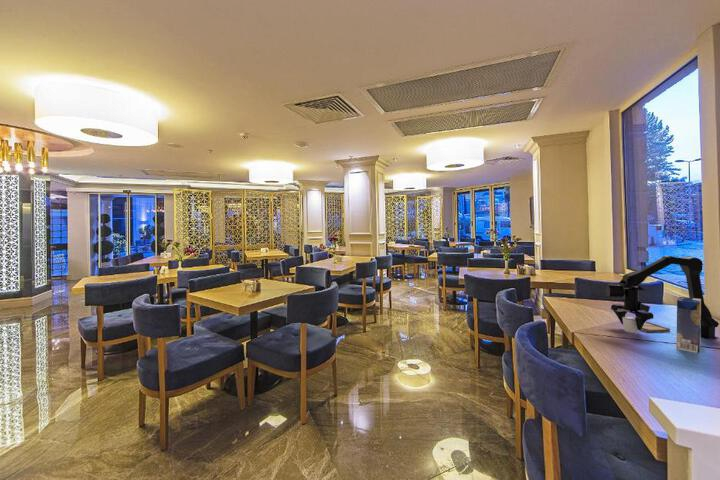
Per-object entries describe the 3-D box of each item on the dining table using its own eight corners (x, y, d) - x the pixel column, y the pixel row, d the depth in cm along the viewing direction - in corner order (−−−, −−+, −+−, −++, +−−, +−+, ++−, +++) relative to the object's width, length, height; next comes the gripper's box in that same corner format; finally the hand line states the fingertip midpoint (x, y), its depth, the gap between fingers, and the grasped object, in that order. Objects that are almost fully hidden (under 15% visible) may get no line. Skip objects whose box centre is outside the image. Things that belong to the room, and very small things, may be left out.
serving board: (669, 331, 157) (669, 328, 157) (647, 332, 157) (647, 329, 157) (647, 324, 169) (647, 321, 169) (626, 325, 169) (626, 322, 169)
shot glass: (643, 333, 156) (643, 320, 156) (627, 333, 157) (627, 319, 157) (633, 329, 162) (634, 316, 162) (619, 328, 164) (619, 315, 164)
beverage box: (700, 346, 138) (701, 298, 137) (699, 353, 131) (700, 303, 130) (678, 342, 143) (679, 296, 142) (676, 348, 136) (677, 300, 135)
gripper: (664, 301, 150) (664, 332, 151) (629, 293, 169) (629, 321, 169) (642, 302, 150) (642, 333, 150) (610, 294, 168) (610, 322, 169)
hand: (631, 327), depth 160 cm, fingers open, 9 cm apart
